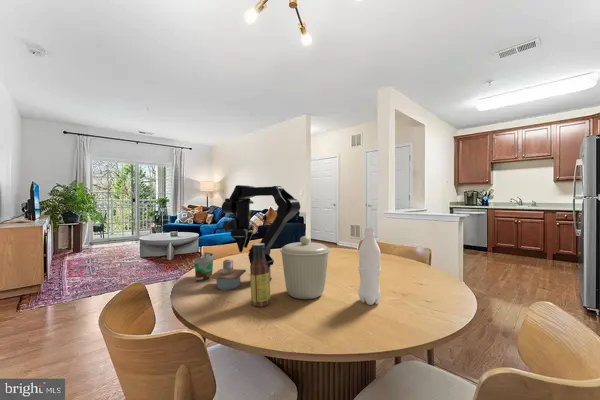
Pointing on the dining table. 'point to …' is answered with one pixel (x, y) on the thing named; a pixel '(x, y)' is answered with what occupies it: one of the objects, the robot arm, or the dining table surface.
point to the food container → (204, 267)
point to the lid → (227, 271)
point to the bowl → (227, 283)
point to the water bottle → (369, 268)
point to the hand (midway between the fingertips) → (243, 249)
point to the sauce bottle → (259, 277)
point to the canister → (305, 268)
